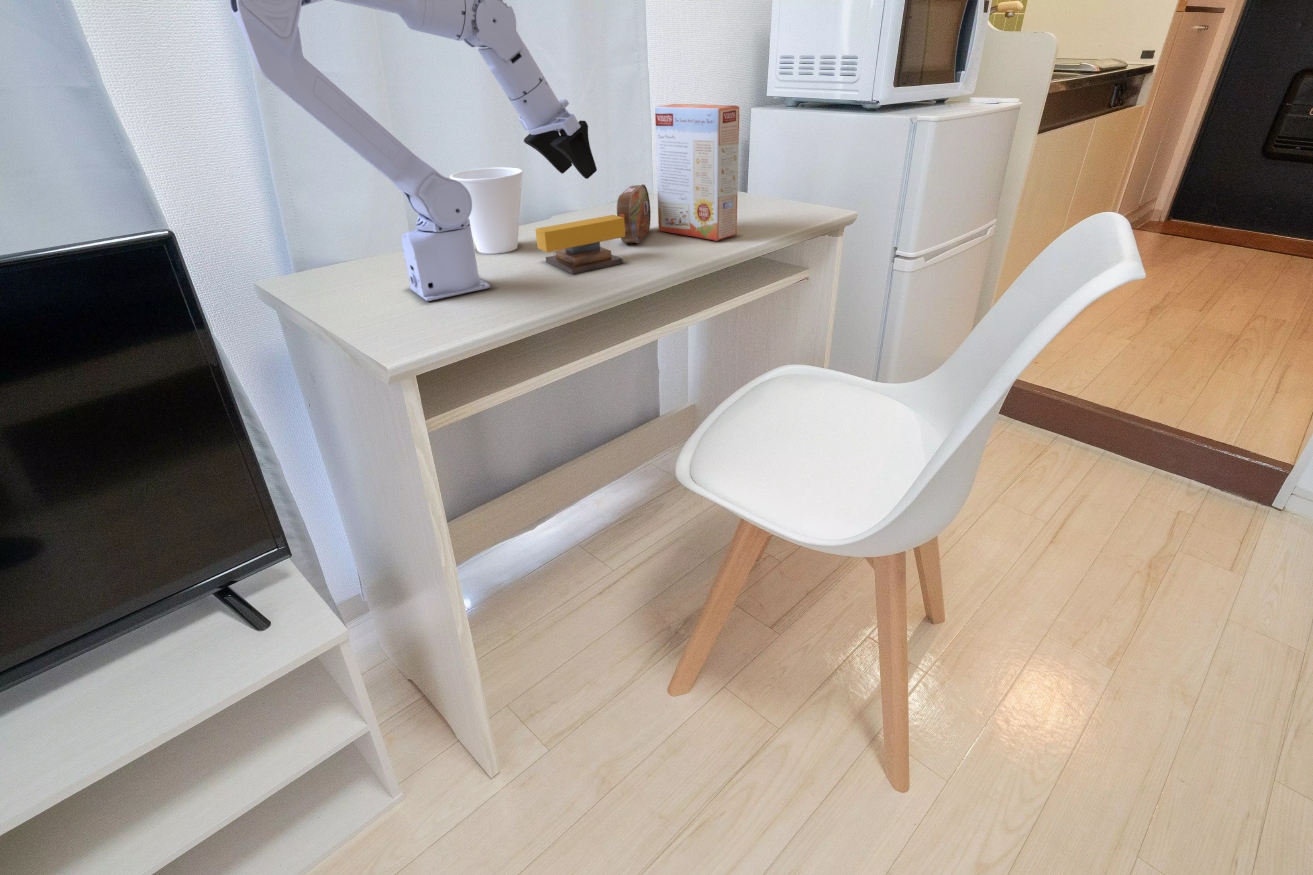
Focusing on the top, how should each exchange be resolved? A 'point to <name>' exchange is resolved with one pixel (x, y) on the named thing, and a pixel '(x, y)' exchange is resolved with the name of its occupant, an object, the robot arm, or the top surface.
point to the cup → (493, 206)
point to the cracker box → (697, 169)
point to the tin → (634, 213)
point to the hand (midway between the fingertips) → (578, 172)
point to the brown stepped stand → (583, 258)
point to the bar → (580, 233)
